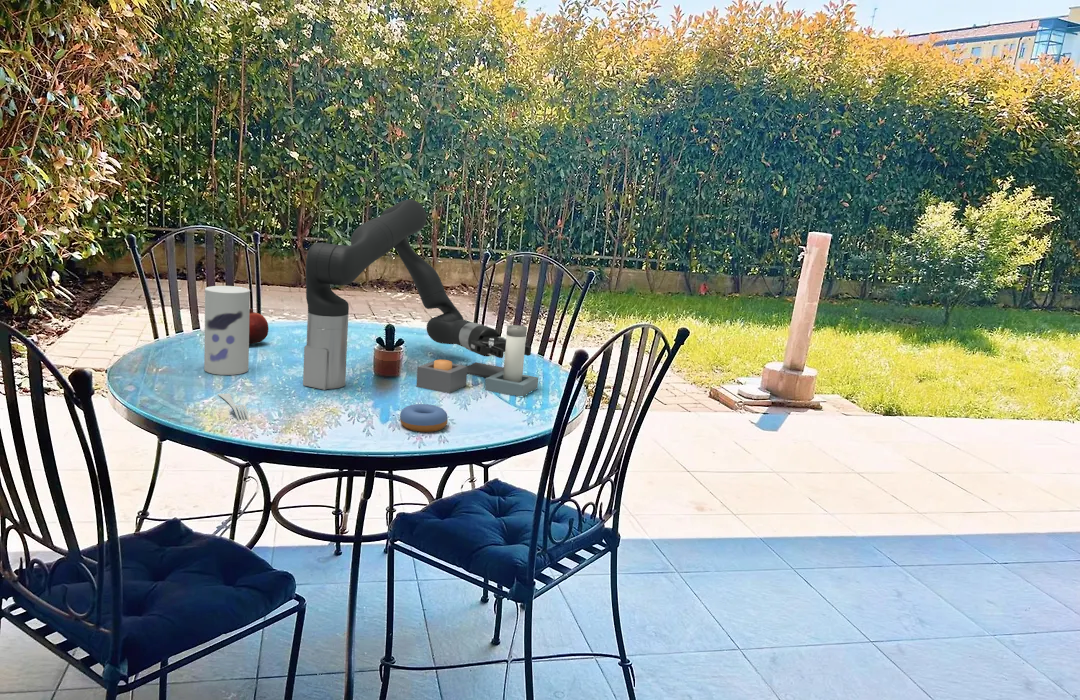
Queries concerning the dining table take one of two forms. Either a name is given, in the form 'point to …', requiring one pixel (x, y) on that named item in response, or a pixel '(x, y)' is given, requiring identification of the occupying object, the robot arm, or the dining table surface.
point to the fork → (235, 406)
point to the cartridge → (514, 353)
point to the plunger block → (441, 377)
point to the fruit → (257, 327)
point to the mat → (483, 369)
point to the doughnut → (423, 418)
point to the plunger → (443, 364)
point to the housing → (511, 385)
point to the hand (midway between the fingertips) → (516, 352)
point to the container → (226, 330)
